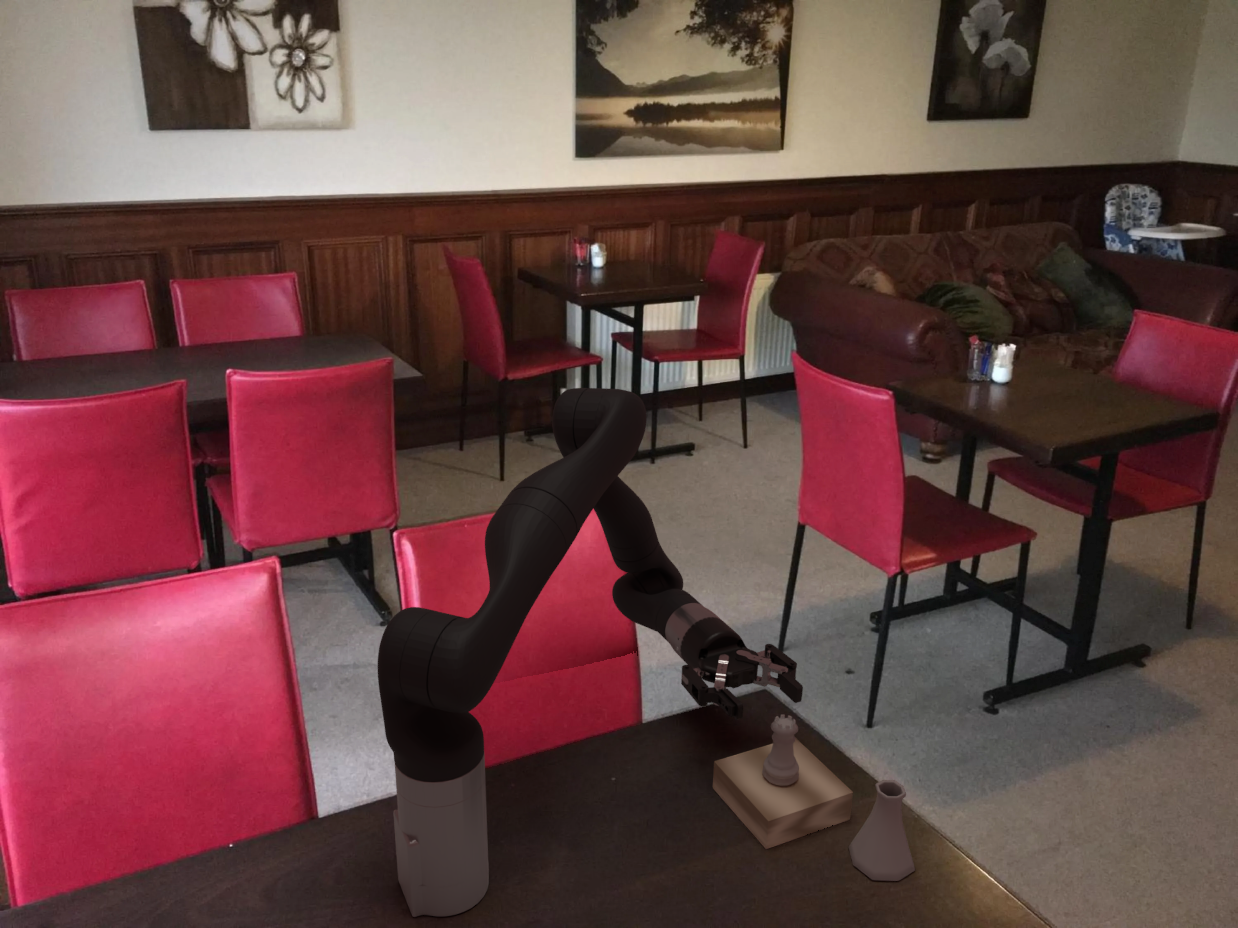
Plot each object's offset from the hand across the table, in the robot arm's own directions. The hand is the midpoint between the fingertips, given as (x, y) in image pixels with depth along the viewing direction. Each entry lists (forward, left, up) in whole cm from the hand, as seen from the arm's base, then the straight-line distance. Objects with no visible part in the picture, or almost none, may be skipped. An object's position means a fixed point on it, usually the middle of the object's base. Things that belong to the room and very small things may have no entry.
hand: (770, 704), depth 125 cm
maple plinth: (0, -4, -12) cm, 13 cm away
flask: (+5, -17, -12) cm, 21 cm away
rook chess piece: (0, -3, -8) cm, 9 cm away
